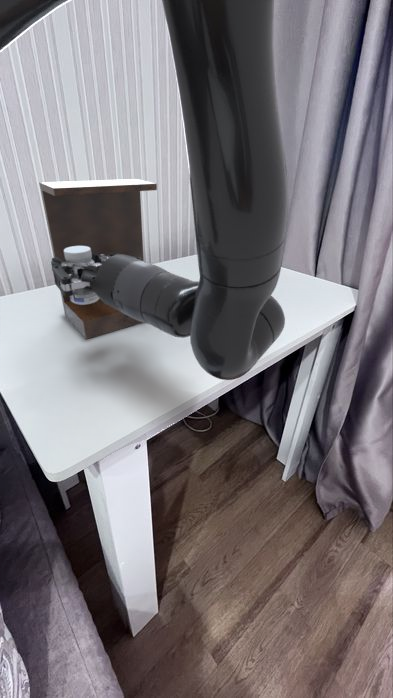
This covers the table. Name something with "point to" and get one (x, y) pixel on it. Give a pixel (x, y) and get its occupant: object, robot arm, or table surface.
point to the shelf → (95, 236)
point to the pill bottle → (73, 256)
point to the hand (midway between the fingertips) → (70, 260)
